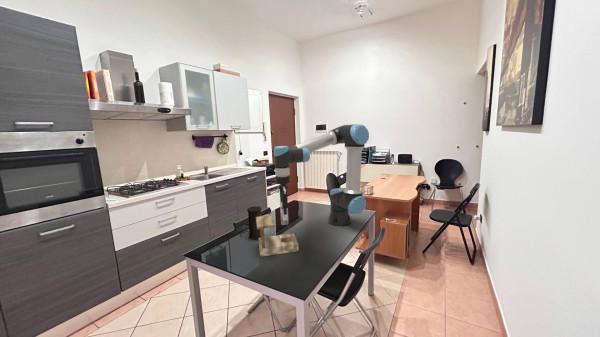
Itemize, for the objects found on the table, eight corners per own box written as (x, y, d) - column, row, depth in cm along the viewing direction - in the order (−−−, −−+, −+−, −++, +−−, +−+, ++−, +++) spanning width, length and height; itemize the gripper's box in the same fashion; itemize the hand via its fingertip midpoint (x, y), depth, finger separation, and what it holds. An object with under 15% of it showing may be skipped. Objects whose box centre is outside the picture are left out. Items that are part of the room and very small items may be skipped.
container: (266, 234, 151) (264, 206, 149) (260, 240, 143) (258, 211, 140) (253, 233, 154) (250, 205, 151) (246, 239, 145) (243, 210, 143)
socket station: (293, 239, 142) (292, 212, 140) (298, 251, 128) (297, 222, 125) (258, 244, 138) (256, 216, 136) (259, 257, 124) (257, 227, 121)
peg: (287, 221, 134) (286, 200, 132) (288, 224, 130) (288, 202, 129) (280, 222, 134) (279, 201, 132) (281, 225, 130) (280, 203, 128)
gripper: (273, 173, 135) (275, 214, 139) (277, 179, 119) (279, 224, 123) (287, 172, 137) (288, 212, 141) (292, 178, 120) (294, 223, 124)
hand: (284, 218), depth 132 cm, fingers closed on peg, 4 cm apart
